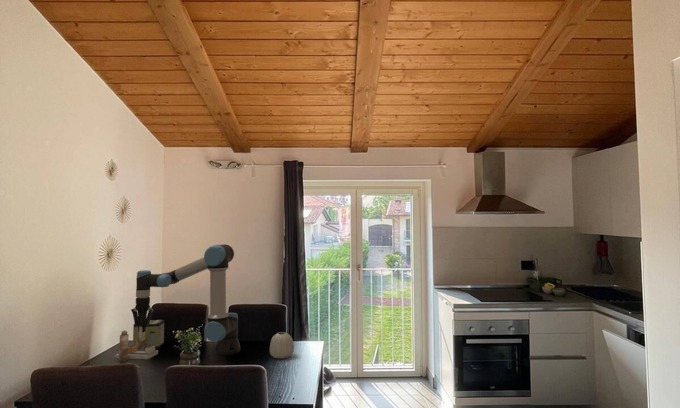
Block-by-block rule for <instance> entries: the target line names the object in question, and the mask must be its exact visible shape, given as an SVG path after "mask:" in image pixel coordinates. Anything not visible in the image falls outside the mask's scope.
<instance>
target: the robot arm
mask: <svg viewBox="0 0 680 408" xmlns="http://www.w3.org/2000/svg"><path fill="white" fill-rule="evenodd" d="M234 257H235V250H234V248H233V247H232V246H230V245H229V244H214V245H211V246H209V247H208V248H206V250H205V252H204V255H203V257H202V258H199V259H197V260H194V261H193V262H190V263H188V264H186V265H183V266H180V267H179V268H176V269H174V270H171V271H169V272H165V273H163V272H162V273H154V274H153V273H152V272H151V270H143V269H142V270H138V271H137V272H136V282H135V283H136V286H135V287H136V288H135V289H136V290H135V297H136V298H135V306H134V308H132V309H130V310H131V312H132V316H133V317H132V318H133V322H134V323H133V324H135V326H138V332H139V338H143V337H144V332H145V331H146V326H147V325H149V323H150V320H152V316H153V315H152V314H153V312H154V310H155V309H154V308H151V304H150V303H151V297H150V296H151V288H167V287H169V286H170V285H175V284H178V283H179V282H181V281H183V280H184V279H188V278H190V277H192V276H195V275H197V274H199V273H202V272H203V271H205V270H208V271H209V273H210V276H209V277H210V278H209V280H210V281H209V282H210V283H209V284H210V287H209V294H210V295H209V298H210V299H209V300H210V302H209V305H210V306H209V308H210V311H209V315H208V316H207V324H205V326H204V329H203V332H204V333H203V334H204V336H205V338H206V339H207V340H208V341H209V342H213V343H215V346H214V349H213V350H214V352H213V353H214V354H215V355H217V356H231V355H236V354H238V353H240V352H241V345H240V344H241V343H240V341H239V338H238V337H239V335H238V333H239V330H238V329H239V314H238V313H237V312H227V304H226V303H227V301H226V300H227V296H226V293H227V291H226V290H227V288H226V286H227V285H226V284H227V283H226V281H227V277H226V274H227V270H228V269H229V263H230V262H232V260H233V259H234Z"/></svg>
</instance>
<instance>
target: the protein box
mask: <svg viewBox="0 0 680 408" xmlns="http://www.w3.org/2000/svg"><path fill="white" fill-rule="evenodd" d="M132 325H133V328H132V332H133V333H132V345H133V344H135V345H137V328H138V326H135V323H133V324H132ZM164 334H165V320H164V319H157V320H152V319H150V323H149V325H147V326H146V331H145V348H147V347H148V346H150V345H153V346H155V350H158V349H160V348H161V347H162V346H163V345H164V344H165V340H164V339H165V335H164Z"/></svg>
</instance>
